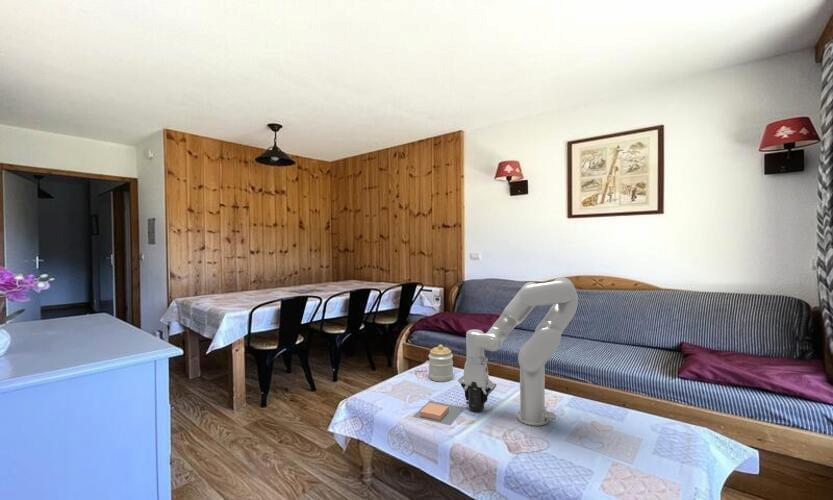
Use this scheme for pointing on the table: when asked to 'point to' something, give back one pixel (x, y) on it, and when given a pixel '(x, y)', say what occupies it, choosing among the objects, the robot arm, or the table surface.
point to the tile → (434, 411)
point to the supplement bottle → (475, 397)
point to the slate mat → (448, 418)
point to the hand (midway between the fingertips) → (476, 400)
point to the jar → (440, 364)
